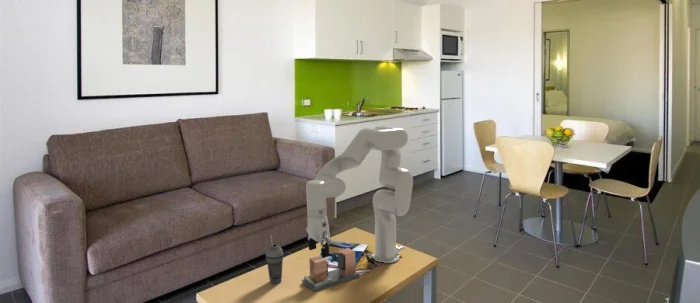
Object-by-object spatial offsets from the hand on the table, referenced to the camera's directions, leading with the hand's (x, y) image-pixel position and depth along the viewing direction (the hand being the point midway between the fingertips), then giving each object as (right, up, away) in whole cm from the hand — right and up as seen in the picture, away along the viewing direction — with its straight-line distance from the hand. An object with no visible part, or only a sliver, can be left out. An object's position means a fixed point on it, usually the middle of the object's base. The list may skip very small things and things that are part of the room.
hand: (318, 253), depth 182 cm
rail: (+5, -12, +5) cm, 14 cm away
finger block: (0, -11, +2) cm, 11 cm away
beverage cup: (-18, -13, +4) cm, 22 cm away
